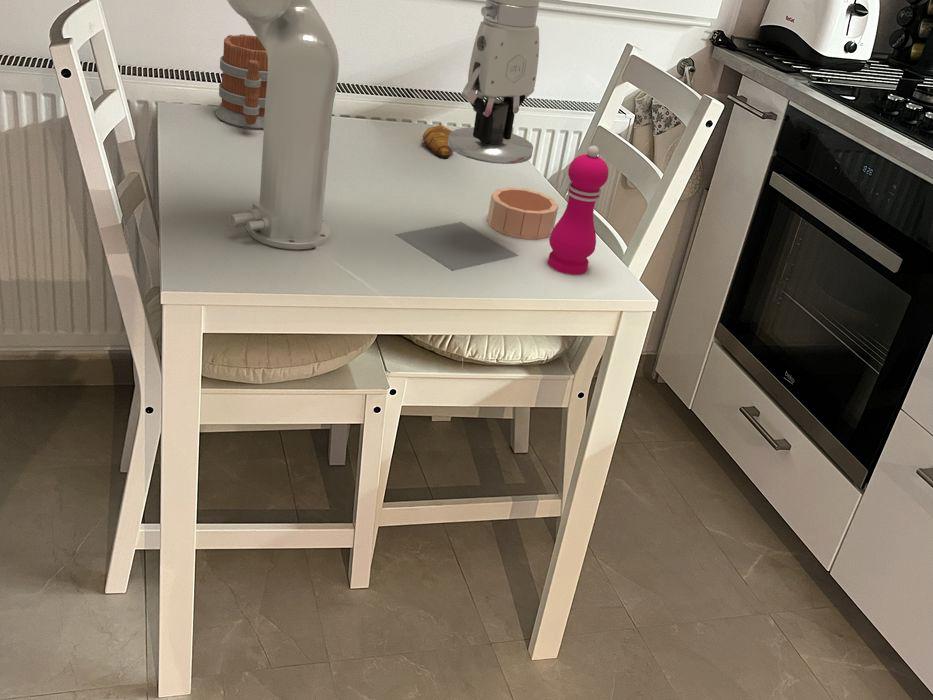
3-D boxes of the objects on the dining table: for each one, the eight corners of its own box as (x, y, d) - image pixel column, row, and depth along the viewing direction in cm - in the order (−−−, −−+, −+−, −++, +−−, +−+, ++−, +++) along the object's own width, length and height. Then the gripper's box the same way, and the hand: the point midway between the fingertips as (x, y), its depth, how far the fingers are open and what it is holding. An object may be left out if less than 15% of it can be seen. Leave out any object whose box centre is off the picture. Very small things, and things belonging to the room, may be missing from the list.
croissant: (461, 162, 195) (465, 137, 193) (427, 159, 194) (431, 134, 191) (446, 139, 207) (450, 116, 204) (414, 137, 205) (417, 113, 202)
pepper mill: (561, 254, 162) (587, 135, 152) (598, 271, 158) (627, 150, 149) (535, 264, 157) (560, 141, 147) (572, 282, 153) (601, 157, 144)
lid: (485, 168, 145) (493, 119, 141) (430, 139, 153) (436, 92, 149) (549, 158, 153) (557, 112, 149) (493, 131, 161) (500, 87, 157)
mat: (451, 272, 149) (452, 270, 149) (394, 236, 158) (395, 234, 158) (518, 257, 158) (518, 255, 158) (460, 224, 167) (461, 221, 166)
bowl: (518, 245, 162) (524, 217, 160) (474, 220, 169) (479, 192, 167) (564, 235, 169) (570, 208, 167) (520, 211, 176) (525, 184, 174)
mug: (288, 111, 205) (293, 37, 198) (287, 142, 189) (293, 62, 181) (218, 104, 202) (220, 28, 195) (211, 134, 186) (213, 53, 179)
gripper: (484, 22, 136) (465, 152, 145) (569, 19, 146) (547, 140, 155) (449, 9, 140) (433, 135, 149) (534, 7, 150) (514, 125, 159)
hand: (491, 137), depth 152 cm, fingers closed on lid, 3 cm apart
